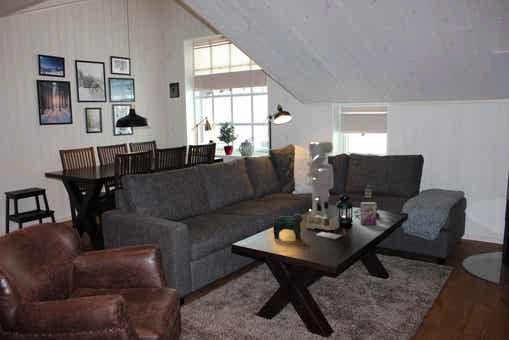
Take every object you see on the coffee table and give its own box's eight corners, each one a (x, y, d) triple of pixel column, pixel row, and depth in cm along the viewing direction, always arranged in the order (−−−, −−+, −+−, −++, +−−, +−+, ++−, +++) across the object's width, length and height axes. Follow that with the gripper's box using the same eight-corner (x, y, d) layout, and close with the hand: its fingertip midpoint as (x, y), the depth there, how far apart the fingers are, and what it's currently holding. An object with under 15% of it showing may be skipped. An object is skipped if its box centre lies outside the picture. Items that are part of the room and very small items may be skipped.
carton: (306, 227, 311) (306, 216, 310) (317, 223, 323) (317, 211, 321) (328, 232, 299) (328, 219, 298) (339, 227, 311) (339, 215, 309)
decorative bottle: (387, 218, 331) (388, 187, 327) (362, 221, 326) (363, 189, 322) (373, 212, 352) (373, 182, 348) (349, 214, 347) (350, 184, 344)
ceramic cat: (303, 237, 290) (302, 208, 287) (302, 240, 284) (302, 210, 281) (274, 236, 293) (273, 208, 290) (273, 239, 287) (272, 210, 284)
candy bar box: (361, 225, 315) (361, 203, 312) (360, 223, 320) (360, 202, 317) (376, 225, 314) (377, 203, 311) (375, 223, 319) (375, 202, 316)
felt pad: (315, 235, 293) (315, 234, 293) (322, 232, 300) (322, 231, 300) (335, 239, 284) (335, 238, 284) (341, 235, 291) (341, 235, 291)
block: (313, 227, 313) (313, 216, 312) (317, 225, 317) (317, 215, 315) (328, 229, 305) (328, 219, 304) (331, 228, 309) (331, 217, 308)
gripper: (324, 184, 315) (324, 207, 317) (311, 187, 302) (311, 211, 304) (333, 185, 310) (333, 208, 312) (320, 188, 297) (321, 212, 299)
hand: (322, 209), depth 308 cm, fingers open, 9 cm apart
